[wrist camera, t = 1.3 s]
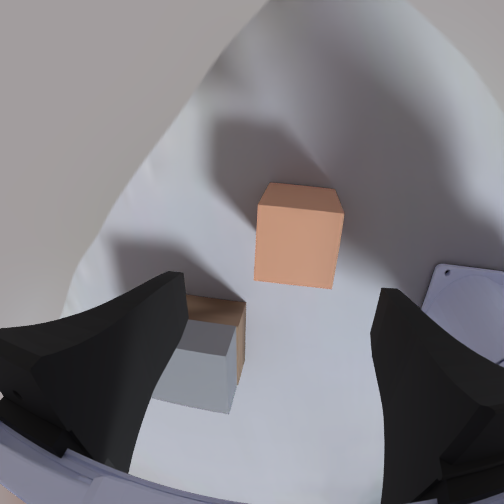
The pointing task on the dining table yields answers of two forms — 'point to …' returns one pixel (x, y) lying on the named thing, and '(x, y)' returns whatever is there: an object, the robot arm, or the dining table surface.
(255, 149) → the dining table surface
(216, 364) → the slate slab
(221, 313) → the walnut slab
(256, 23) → the dining table surface
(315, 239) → the tan clay cube
